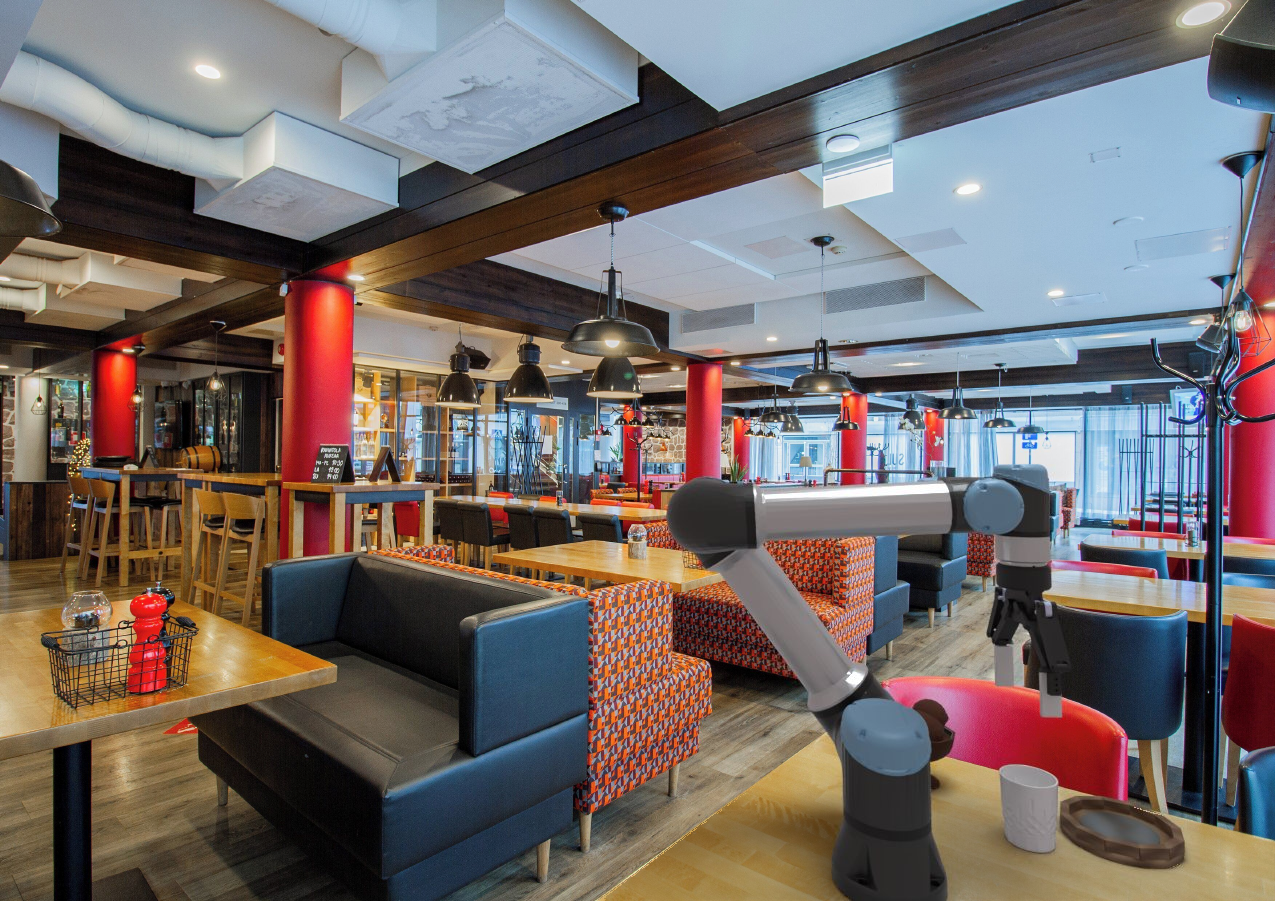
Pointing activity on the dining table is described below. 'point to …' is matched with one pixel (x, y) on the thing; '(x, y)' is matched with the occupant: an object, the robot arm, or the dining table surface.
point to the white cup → (1029, 807)
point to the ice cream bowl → (936, 731)
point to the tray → (1122, 832)
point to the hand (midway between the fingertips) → (1026, 700)
